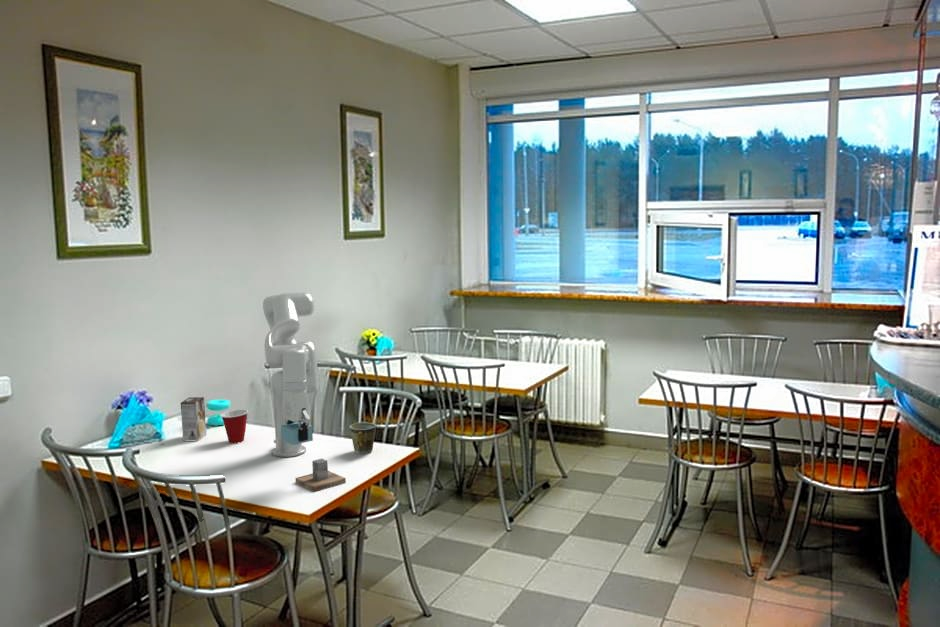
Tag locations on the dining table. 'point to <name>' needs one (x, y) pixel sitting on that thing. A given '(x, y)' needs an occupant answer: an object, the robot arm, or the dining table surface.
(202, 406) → the coffee box
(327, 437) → the dining table surface
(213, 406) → the donuts
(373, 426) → the ceramic cup
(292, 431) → the blue hollow block
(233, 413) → the plastic cup
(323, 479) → the post base
